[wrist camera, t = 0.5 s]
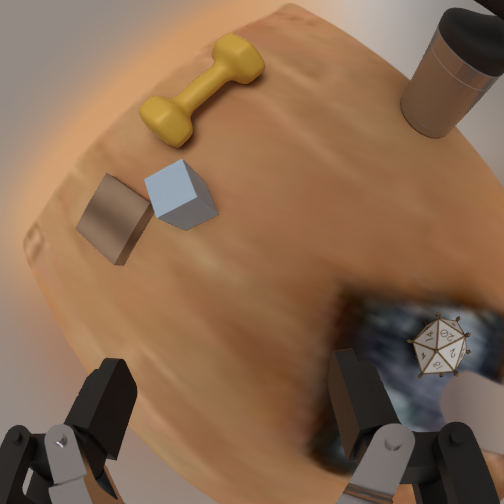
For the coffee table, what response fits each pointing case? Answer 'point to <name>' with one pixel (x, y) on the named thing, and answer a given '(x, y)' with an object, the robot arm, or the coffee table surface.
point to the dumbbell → (202, 89)
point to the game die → (440, 346)
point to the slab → (115, 219)
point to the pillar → (180, 196)
